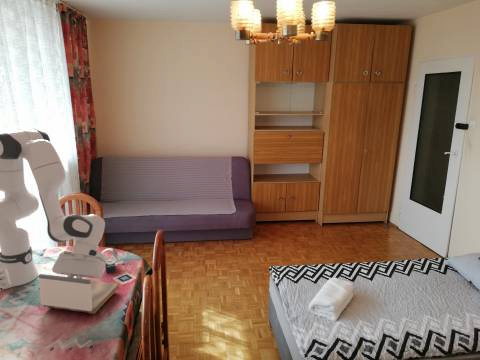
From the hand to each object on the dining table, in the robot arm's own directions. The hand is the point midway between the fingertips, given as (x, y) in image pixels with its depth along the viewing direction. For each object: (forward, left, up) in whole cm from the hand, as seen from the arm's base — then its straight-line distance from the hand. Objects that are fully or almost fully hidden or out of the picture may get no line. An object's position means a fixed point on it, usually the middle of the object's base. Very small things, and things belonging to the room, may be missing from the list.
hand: (71, 287), depth 132 cm
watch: (-3, +32, -11) cm, 34 cm away
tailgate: (0, -4, -6) cm, 7 cm away
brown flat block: (0, +6, -10) cm, 12 cm away
